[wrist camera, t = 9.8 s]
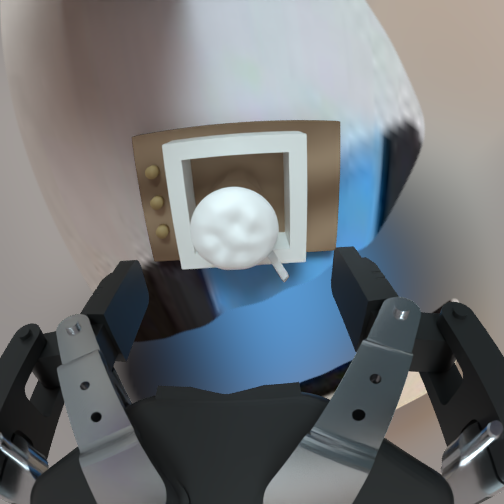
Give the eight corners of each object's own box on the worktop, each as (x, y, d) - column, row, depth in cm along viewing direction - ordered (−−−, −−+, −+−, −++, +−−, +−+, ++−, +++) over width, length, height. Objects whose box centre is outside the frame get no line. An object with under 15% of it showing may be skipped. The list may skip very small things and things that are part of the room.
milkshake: (253, 232, 24) (259, 310, 15) (197, 197, 22) (166, 259, 13) (287, 187, 22) (316, 245, 13) (229, 149, 20) (217, 179, 12)
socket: (172, 140, 20) (161, 145, 17) (298, 131, 20) (306, 134, 17) (188, 251, 24) (182, 269, 22) (299, 244, 24) (305, 261, 22)
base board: (136, 135, 21) (127, 138, 19) (335, 120, 20) (343, 122, 19) (157, 255, 26) (152, 266, 24) (331, 244, 26) (338, 254, 24)
